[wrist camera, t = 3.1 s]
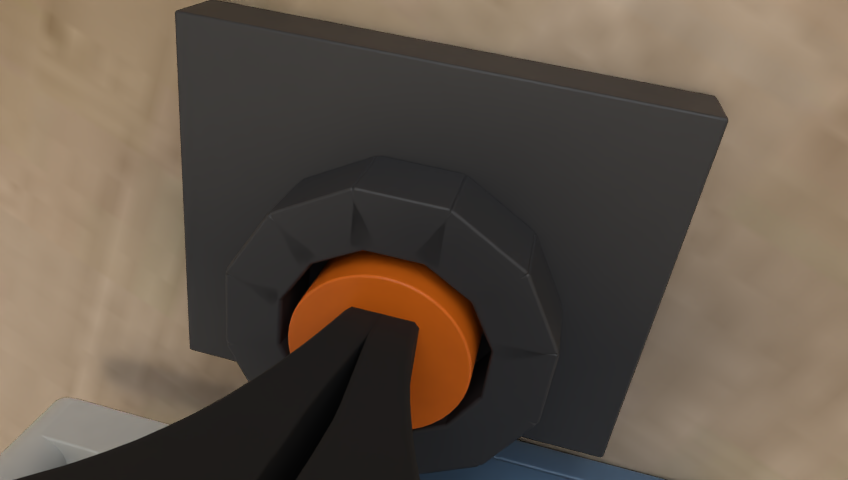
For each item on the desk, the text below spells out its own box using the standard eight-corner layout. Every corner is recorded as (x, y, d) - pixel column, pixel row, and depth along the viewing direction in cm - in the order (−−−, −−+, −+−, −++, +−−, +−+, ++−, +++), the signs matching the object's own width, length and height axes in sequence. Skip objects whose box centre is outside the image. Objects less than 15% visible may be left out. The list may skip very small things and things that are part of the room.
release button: (469, 393, 15) (455, 451, 13) (314, 353, 15) (283, 405, 14) (500, 253, 13) (488, 302, 12) (324, 214, 14) (290, 255, 12)
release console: (597, 429, 17) (597, 531, 14) (217, 331, 18) (152, 407, 15) (716, 95, 12) (748, 152, 10) (210, -1, 14) (121, 26, 11)
